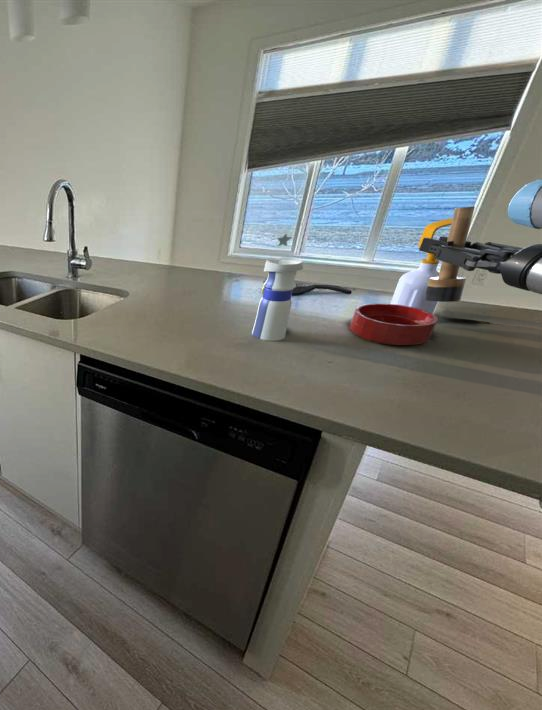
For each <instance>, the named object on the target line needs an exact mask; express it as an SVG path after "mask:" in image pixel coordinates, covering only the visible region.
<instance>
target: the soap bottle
mask: <svg viewBox="0 0 542 710" xmlns="http://www.w3.org/2000/svg"><path fill="white" fill-rule="evenodd" d="M452 219H453V217H452V218H451V217H449V218H445V219H442V220H437V221H434V222H431V223H429V224H427V225H426V226H425V227H424V229H423V232H422V234H421V236H420V239H419V242H418V245H417V246H418V249H420V246H421V243H422V241H423V238H431V239H434V236H435V234H436V232H437V231H438V230H440V229H442V228H444V227H449V226H451V223H452ZM425 254H426V255H427V257H426V258H423V259H421V261H420V264H419V267H417V268H416V269H413V270H410V271H408V272H406V273H403V274H402V276H401V277H400V278H399V280H398V281H397V285H396V286H395V287H396V288H395V290H394V292H393V295H392V298H391V301H390V303H389V304H397V305H404V306H410V307H414V308H418V309H422V310H425V311H427V312H430V313H432V314H433V315H434V311H435V309H436V307H437V305H438V303H439V302H437V301H427V300H424V298H425V294H426V290H427V286H428V281H429V278H433V277H439V273H440V271H438V270H437V268H438V266H439V263H440V260H437V259H435V256H436V255H434V254H430V253H426V252H425Z"/></svg>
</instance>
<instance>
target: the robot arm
mask: <svg viewBox="0 0 542 710" xmlns="http://www.w3.org/2000/svg"><path fill="white" fill-rule="evenodd" d="M507 215H508V218H509V220H510V221H511V222H513V223H514V224H517V225H520V226H524V227H528V228H533V229H534V230H542V178H540V179H536V180H534V181H531V182H528V183H527V184H525V185H524V186H523V187H522V188H520V189H519V190H518V191H517V192H516V193H515V194H514V196H513V197H512V199H510V202H509V204H508V207H507ZM447 239H448V236H444V235H442V236H439V238H438V239H435V238H432V239H431V238H423V241H422V243H421V246H420V248H418V251H419V252H422V253H425V254H426V253H430V254H434V255H436V256H435V259H436V260H439V262H442V261H443V262H446V263H449V264H452V265H456V266H459V268H462V269H463V270H465V271H467V272H474V271H475V270H476V269H480V270H484V271H488V272H489V273H491V274H498V275H501V279H502V281H503V283H504V284H505V285H507V286H508V287H512V288H516V289H520V290H522V291H528V292H532V293H535V294H539V295H542V243H536V244H532V245H528V246H526V247H519V246H514V245H507V244H502V243H497V242H492V241H486V242H485V243H483V242H479V241H476V242H472V241H468V240H466V243H465V247H460V246H454V245H453V244H454V241H447Z"/></svg>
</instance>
